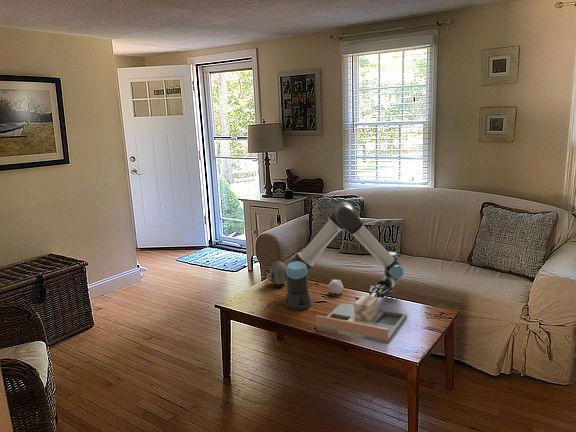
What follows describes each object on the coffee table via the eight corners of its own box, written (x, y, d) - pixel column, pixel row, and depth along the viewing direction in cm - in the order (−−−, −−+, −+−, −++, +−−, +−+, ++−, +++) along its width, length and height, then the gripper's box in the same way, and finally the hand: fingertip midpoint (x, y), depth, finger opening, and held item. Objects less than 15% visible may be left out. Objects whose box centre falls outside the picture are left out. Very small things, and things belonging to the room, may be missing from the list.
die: (345, 292, 272) (338, 277, 275) (345, 290, 264) (338, 275, 267) (333, 298, 272) (326, 283, 275) (333, 296, 263) (325, 281, 266)
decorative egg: (292, 283, 290) (291, 260, 287) (280, 288, 282) (278, 265, 279) (279, 279, 298) (277, 257, 295) (266, 285, 289) (265, 262, 286)
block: (354, 318, 230) (354, 303, 228) (363, 309, 240) (363, 295, 238) (369, 321, 226) (369, 306, 224) (378, 312, 236) (377, 297, 234)
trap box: (316, 329, 225) (315, 316, 224) (341, 306, 250) (341, 294, 249) (387, 344, 207) (387, 329, 205) (406, 317, 232) (406, 304, 230)
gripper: (397, 292, 254) (383, 308, 234) (374, 289, 261) (359, 304, 241) (397, 279, 253) (382, 294, 233) (374, 276, 259) (358, 291, 239)
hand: (370, 299), depth 237 cm, fingers closed
